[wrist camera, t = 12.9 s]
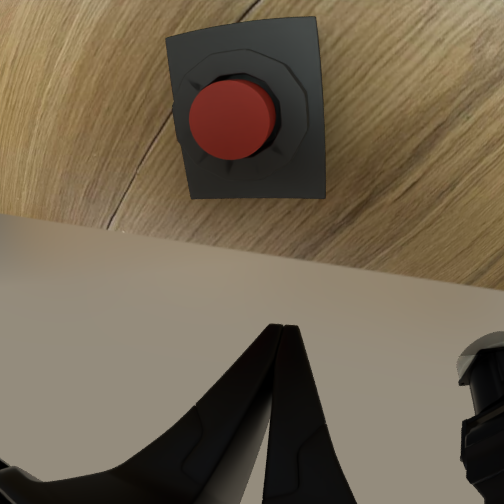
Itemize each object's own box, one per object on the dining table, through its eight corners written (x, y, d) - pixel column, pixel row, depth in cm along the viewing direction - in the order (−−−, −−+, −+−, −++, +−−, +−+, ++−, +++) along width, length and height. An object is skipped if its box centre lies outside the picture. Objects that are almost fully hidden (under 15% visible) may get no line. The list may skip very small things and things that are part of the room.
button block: (325, 185, 18) (325, 213, 15) (203, 186, 20) (178, 212, 17) (316, 23, 13) (314, 8, 9) (181, 40, 15) (147, 35, 11)
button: (278, 149, 14) (273, 158, 12) (208, 152, 15) (195, 162, 13) (272, 76, 12) (265, 76, 11) (198, 84, 13) (183, 86, 11)
